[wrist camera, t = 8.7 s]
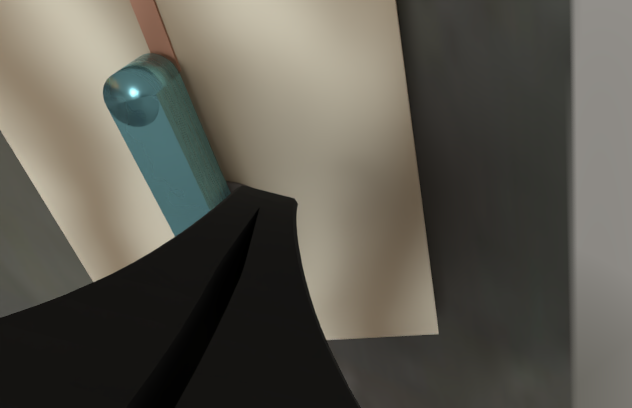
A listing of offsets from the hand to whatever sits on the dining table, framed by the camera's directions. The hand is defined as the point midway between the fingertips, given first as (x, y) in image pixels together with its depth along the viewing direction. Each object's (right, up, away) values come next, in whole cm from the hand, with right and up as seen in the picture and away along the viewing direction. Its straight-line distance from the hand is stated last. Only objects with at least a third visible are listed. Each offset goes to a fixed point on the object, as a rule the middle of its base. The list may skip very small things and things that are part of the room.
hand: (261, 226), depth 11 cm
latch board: (-3, +2, +10) cm, 10 cm away
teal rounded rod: (-3, +2, +7) cm, 8 cm away
